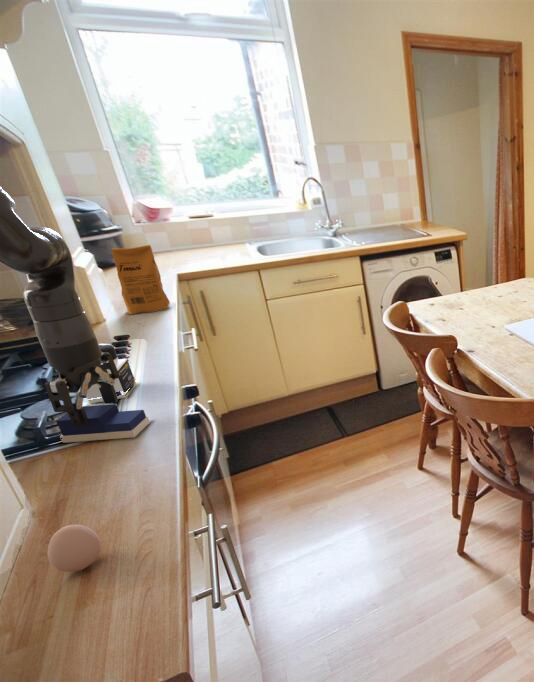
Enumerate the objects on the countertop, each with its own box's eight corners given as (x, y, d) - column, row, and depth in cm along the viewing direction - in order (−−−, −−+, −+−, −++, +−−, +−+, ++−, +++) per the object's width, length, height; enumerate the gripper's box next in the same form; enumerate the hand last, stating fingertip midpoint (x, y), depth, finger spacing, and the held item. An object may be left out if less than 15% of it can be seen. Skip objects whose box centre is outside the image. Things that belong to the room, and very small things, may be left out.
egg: (56, 588, 61) (34, 550, 58) (61, 562, 65) (41, 525, 62) (106, 569, 64) (87, 532, 61) (108, 545, 68) (91, 509, 65)
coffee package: (130, 307, 165) (109, 245, 156) (172, 302, 170) (153, 242, 162) (124, 316, 157) (101, 251, 148) (168, 310, 162) (149, 247, 154)
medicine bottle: (127, 398, 107) (108, 350, 102) (88, 404, 104) (68, 355, 100) (137, 384, 113) (120, 338, 108) (100, 389, 110) (82, 343, 106)
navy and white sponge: (62, 442, 91) (52, 421, 89) (82, 427, 96) (72, 406, 94) (134, 437, 93) (126, 416, 91) (150, 422, 97) (142, 401, 95)
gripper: (61, 353, 80) (93, 432, 86) (115, 323, 93) (139, 394, 99) (12, 355, 79) (48, 435, 85) (73, 325, 92) (101, 396, 98)
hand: (97, 413), depth 92 cm, fingers open, 8 cm apart
